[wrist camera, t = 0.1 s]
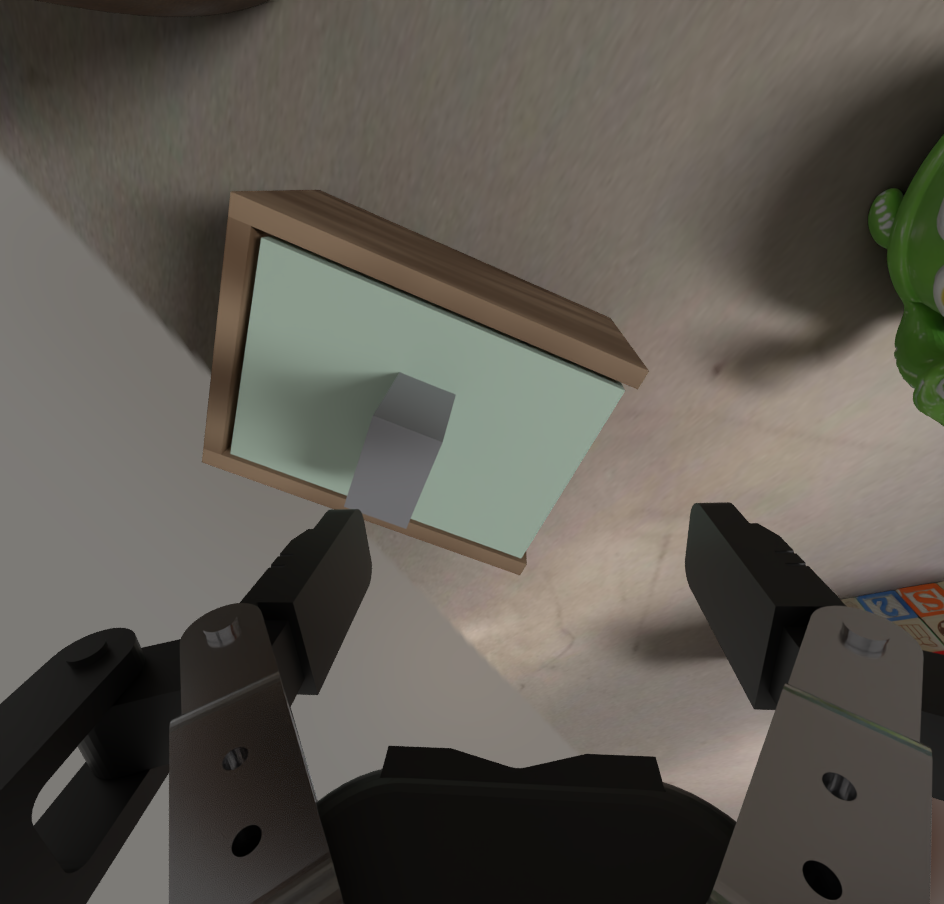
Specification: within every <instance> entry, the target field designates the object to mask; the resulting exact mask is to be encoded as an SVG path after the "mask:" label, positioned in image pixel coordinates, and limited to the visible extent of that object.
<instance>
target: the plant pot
mask: <svg viewBox="0 0 944 904" xmlns="http://www.w3.org/2000/svg"><path fill="white" fill-rule="evenodd" d="M37 1H42V2H48V3H54V4H59V5H65V6H71V7H78V8H84V9H91V10H97V11H104V12H112V13H121V14H131V15H143V16H159V17H191V16H208V15H216V14H224V13H230V12H234V11H239V10H243V9H247V8H250V7H253V6H256V5H259V4H262V3H264V2H266V1H269V0H37Z"/></svg>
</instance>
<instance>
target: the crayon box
mask: <svg viewBox="0 0 944 904" xmlns="http://www.w3.org/2000/svg"><path fill="white" fill-rule="evenodd" d="M272 235H274V236H276V237H278V238H281V239H283V240H286V241H288V242H290V243H293V244H295V245H297V246H300V247H302V248H304V249H307V250H309V251H312V252H314V253H316V254H319V255H321V256H323V257H326V258H328V259H330V260H333V261H335V262H338V263H340V264H342V265H345V266H347V267H349V268H352V269H354V270H357V271H359V272H361V273H364V274H366V275H368V276H371V277H373V278H375V279H378V280H380V281H383V282H385V283H387V284H390V285H392V286H394V287H397V288H399V289H401V290H404V291H406V292H409V293H411V294H413V295H416V296H418V297H420V298H423V299H425V300H428V301H430V302H432V303H435V304H437V305H439V306H442V307H444V308H446V309H449V310H451V311H454V312H456V313H458V314H461V315H463V316H465V317H468V318H470V319H473V320H475V321H477V322H480V323H482V324H484V325H487V326H489V327H491V328H494V329H496V330H499V331H501V332H503V333H506V334H508V335H510V336H513V337H515V338H517V339H520V340H522V341H525V342H527V343H529V344H532V345H534V346H536V347H539V348H541V349H544V350H546V351H548V352H551V353H553V354H555V355H558V356H560V357H562V358H565V359H567V360H570V361H572V362H574V363H577V364H579V365H581V366H584V367H586V368H588V369H591V370H593V371H596V372H598V373H600V374H603V375H605V376H607V377H610V378H612V379H615V380H617V381H619V382H622V383H624V384H626V385H629V386H631V387H633V388H636V389H638V388H639V386H640V385H641V383H642V382H643V380H644V378H645V377H646V375H647V374H648V372H649V370H648V369H647V368H646V366H645V365H644V363H643V362H642V361H641V359H640V358H639V357H638V355H637V354H636V352H635V351H634V350H633V348H632V347H631V346H630V344H629V343H628V342H627V340H626V339H625V337H624V336H623V335H622V333H621V332H620V331H619V329H618V328H617V326H616V325H615V324H614V322H613V321H612V320H611V318H609V317H607V316H605V315H602V314H600V313H598V312H595V311H593V310H591V309H589V308H586V307H584V306H582V305H580V304H577V303H575V302H573V301H570V300H568V299H566V298H564V297H561V296H559V295H557V294H555V293H552V292H550V291H548V290H545V289H543V288H541V287H539V286H536V285H534V284H532V283H530V282H527V281H525V280H523V279H520V278H518V277H516V276H514V275H511V274H509V273H507V272H505V271H502V270H500V269H498V268H495V267H493V266H491V265H489V264H486V263H484V262H482V261H480V260H477V259H475V258H473V257H470V256H468V255H466V254H464V253H461V252H459V251H457V250H455V249H452V248H450V247H448V246H445V245H443V244H441V243H439V242H436V241H434V240H432V239H430V238H427V237H425V236H423V235H420V234H418V233H416V232H414V231H411V230H409V229H407V228H405V227H402V226H400V225H398V224H395V223H393V222H391V221H389V220H386V219H384V218H382V217H380V216H377V215H375V214H373V213H370V212H368V211H366V210H364V209H361V208H359V207H357V206H355V205H352V204H350V203H348V202H345V201H343V200H341V199H339V198H336V197H334V196H332V195H329V194H327V193H325V192H323V191H320V190H289V191H232V192H231V193H230V203H229V212H228V222H227V231H226V241H225V250H224V259H223V269H222V278H221V288H220V297H219V306H218V316H217V325H216V335H215V344H214V354H213V363H212V372H211V382H210V392H209V401H208V410H207V420H206V429H205V438H204V448H203V457H202V462H203V463H206V464H208V465H211V466H214V467H217V468H219V469H222V470H225V471H228V472H231V473H234V474H237V475H239V476H242V477H245V478H248V479H251V480H253V481H256V482H259V483H262V484H264V485H267V486H270V487H273V488H276V489H279V490H281V491H284V492H287V493H290V494H293V495H296V496H298V497H301V498H304V499H307V500H310V501H312V502H315V503H318V504H321V505H324V506H327V507H329V508H332V509H349V508H346V507H344V505H345V502H346V498H347V496H346V495H343V494H341V493H338V492H335V491H332V490H330V489H327V488H324V487H321V486H318V485H316V484H313V483H310V482H307V481H305V480H302V479H299V478H296V477H294V476H291V475H288V474H285V473H282V472H280V471H277V470H274V469H271V468H269V467H266V466H263V465H260V464H257V463H255V462H252V461H249V460H246V459H244V458H241V457H238V456H235V455H232V454H230V452H231V445H232V438H233V431H234V424H235V417H236V410H237V403H238V396H239V389H240V382H241V375H242V368H243V361H244V354H245V347H246V340H247V333H248V326H249V319H250V312H251V305H252V298H253V291H254V284H255V277H256V270H257V263H258V256H259V249H260V242H261V238H262V237H267V236H272ZM362 515H363V518H364V520H366V521H369V522H371V523H374V524H377V525H380V526H383V527H385V528H388V529H391V530H394V531H397V532H400V533H402V534H405V535H408V536H411V537H414V538H416V539H419V540H422V541H425V542H428V543H430V544H433V545H436V546H439V547H442V548H445V549H447V550H450V551H453V552H456V553H459V554H461V555H464V556H467V557H470V558H473V559H475V560H478V561H481V562H484V563H487V564H490V565H492V566H495V567H498V568H501V569H504V570H506V571H509V572H512V573H515V574H518V575H520V574H521V573H522V571H523V569H524V568H525V566H526V565H527V561H526V552H525V553H524V555H523V557H522V558H518V557H516V556H513V555H510V554H507V553H504V552H502V551H499V550H496V549H493V548H491V547H488V546H485V545H482V544H479V543H477V542H474V541H471V540H468V539H466V538H463V537H460V536H457V535H454V534H452V533H449V532H446V531H443V530H441V529H438V528H435V527H432V526H429V525H427V524H424V523H421V522H418V521H416V520H413V519H410V521H409V523H408V526H407V528H406V529H405V528H402V527H399V526H396V525H394V524H391V523H388V522H385V521H382V520H380V519H377V518H374V517H371V516H368V515H366V514H363V513H362Z"/></svg>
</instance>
